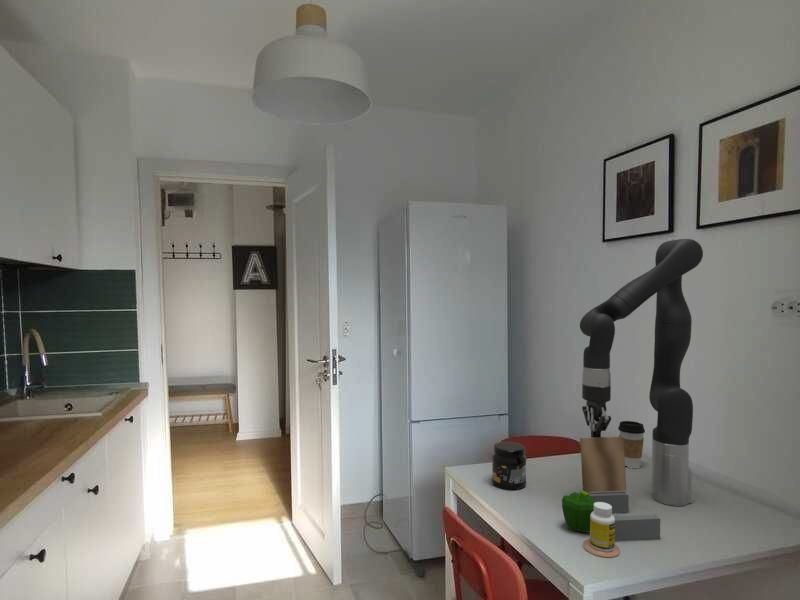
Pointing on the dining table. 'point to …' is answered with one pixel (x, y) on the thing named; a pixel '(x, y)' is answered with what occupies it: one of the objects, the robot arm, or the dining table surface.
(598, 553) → the coaster
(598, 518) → the supplement bottle
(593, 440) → the tan flat square panel
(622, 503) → the rails
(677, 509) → the dining table surface
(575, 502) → the bell pepper
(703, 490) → the dining table surface
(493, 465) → the supplement container
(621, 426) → the coffee cup
